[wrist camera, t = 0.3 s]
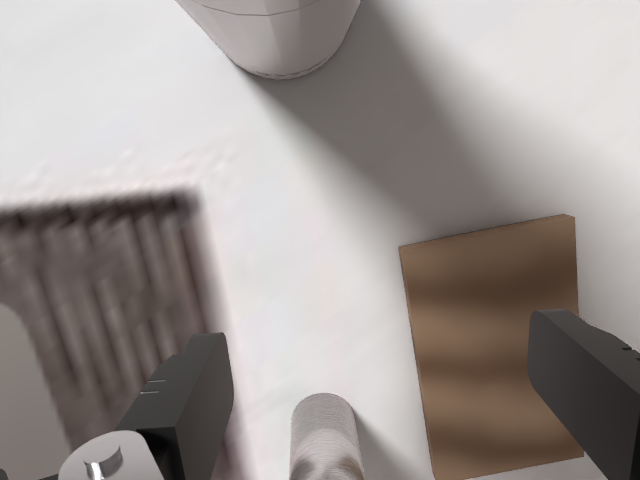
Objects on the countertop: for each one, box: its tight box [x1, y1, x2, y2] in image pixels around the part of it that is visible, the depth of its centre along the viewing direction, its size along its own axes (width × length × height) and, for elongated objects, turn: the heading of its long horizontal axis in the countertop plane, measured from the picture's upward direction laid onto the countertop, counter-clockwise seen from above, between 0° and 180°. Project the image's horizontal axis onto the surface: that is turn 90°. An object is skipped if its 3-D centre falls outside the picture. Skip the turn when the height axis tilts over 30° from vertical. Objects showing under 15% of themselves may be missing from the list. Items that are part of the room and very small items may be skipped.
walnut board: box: [399, 214, 584, 480], centre depth 31 cm, size 20×12×1 cm, turn 11°
